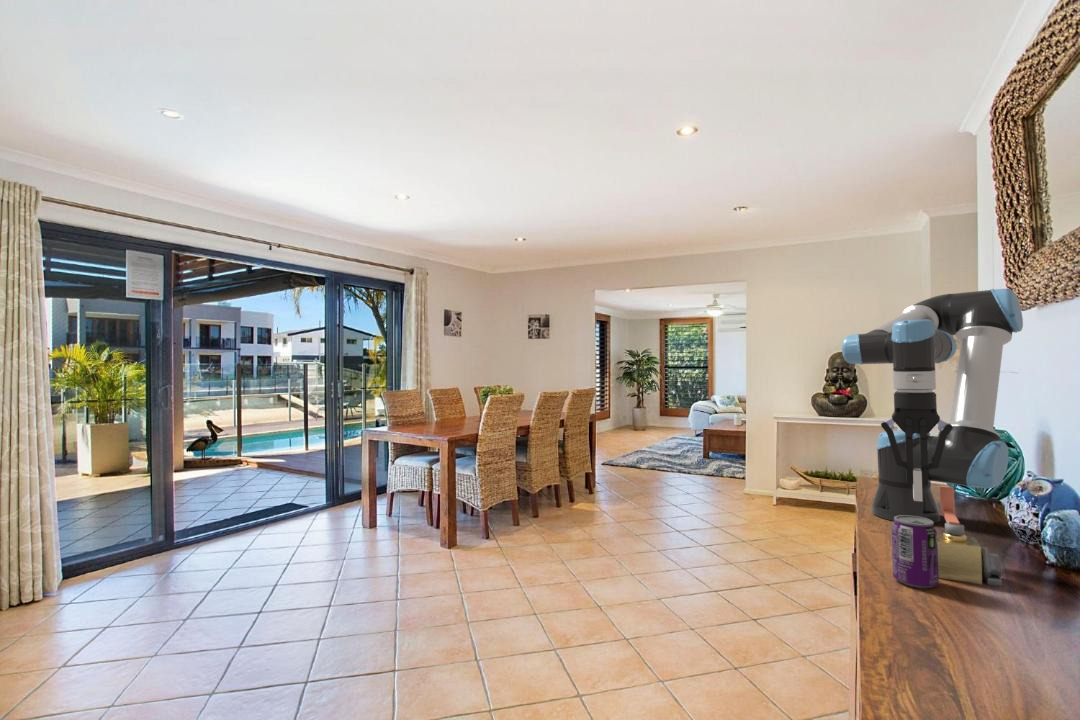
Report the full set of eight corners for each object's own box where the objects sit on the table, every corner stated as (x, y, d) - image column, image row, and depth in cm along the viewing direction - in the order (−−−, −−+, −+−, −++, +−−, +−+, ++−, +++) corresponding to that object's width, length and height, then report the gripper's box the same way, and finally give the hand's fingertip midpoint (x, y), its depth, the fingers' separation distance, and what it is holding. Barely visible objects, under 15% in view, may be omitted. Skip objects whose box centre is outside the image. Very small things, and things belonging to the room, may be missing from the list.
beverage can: (947, 592, 96) (944, 526, 96) (903, 589, 97) (901, 524, 97) (926, 576, 103) (924, 514, 103) (886, 574, 104) (884, 513, 104)
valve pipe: (914, 563, 109) (912, 525, 109) (995, 575, 102) (994, 534, 102) (916, 574, 104) (915, 533, 104) (1003, 587, 97) (1001, 544, 97)
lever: (965, 535, 101) (964, 500, 101) (946, 533, 103) (944, 498, 103) (956, 518, 112) (955, 486, 112) (938, 516, 113) (937, 485, 113)
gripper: (878, 391, 115) (882, 500, 115) (954, 392, 108) (958, 507, 107) (878, 389, 121) (882, 492, 121) (950, 390, 114) (953, 499, 114)
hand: (917, 499), depth 114 cm, fingers closed
